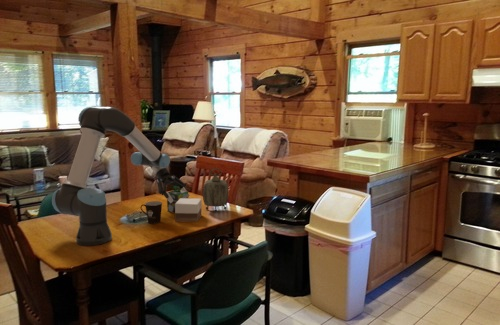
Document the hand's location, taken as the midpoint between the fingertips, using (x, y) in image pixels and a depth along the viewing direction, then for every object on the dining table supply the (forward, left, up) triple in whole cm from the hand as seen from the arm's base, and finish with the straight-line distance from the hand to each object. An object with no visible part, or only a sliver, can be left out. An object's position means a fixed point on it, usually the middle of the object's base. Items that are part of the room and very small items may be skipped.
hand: (180, 199), depth 224 cm
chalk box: (+1, +2, -7) cm, 7 cm away
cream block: (-13, -8, -2) cm, 15 cm away
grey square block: (-13, -7, -7) cm, 17 cm away
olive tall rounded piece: (+2, -20, -7) cm, 22 cm away
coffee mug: (-19, +11, -7) cm, 23 cm away
